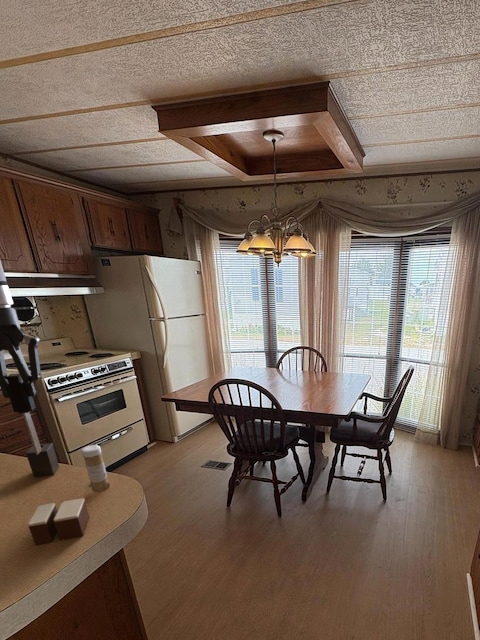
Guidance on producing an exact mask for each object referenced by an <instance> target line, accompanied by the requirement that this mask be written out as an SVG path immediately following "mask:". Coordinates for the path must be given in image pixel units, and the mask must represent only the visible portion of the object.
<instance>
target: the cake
mask: <svg viewBox="0 0 480 640" xmlns="http://www.w3.org/2000/svg"><path fill="white" fill-rule="evenodd" d="M89 520H90V514H89V510H88V507H87V503H86V499H85V497H82V498H77V499H70V500H64V501H61V504H60V506H59V508H58V509H57V514H56V516H55V518H54V522H55V525H56V528H57V532H56V533H57V535H58V537H59V540H60V541H65V540H70V539H76V538H81V537H84V535H85V532H86V529H87V526H88V523H89Z"/></svg>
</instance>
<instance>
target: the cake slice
mask: <svg viewBox="0 0 480 640" xmlns="http://www.w3.org/2000/svg"><path fill="white" fill-rule="evenodd" d="M57 512H58V508H57V506H56V503H55V502H50V503H46V504H39V505H38V506H37V508H36V510H35V512H34V513H33V515H32V517H31V518H30V520H29V521H28V523H27V526H28V528H29V532H30V535H31V537H32V539H33V543H34V545H35V546H39V545H45V544H50V543H53V541H54V539H55V537H56V534H57V533H58V532H57V528H56V525H55V522H54V518H55V516H56V514H57Z"/></svg>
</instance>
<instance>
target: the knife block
mask: <svg viewBox="0 0 480 640" xmlns="http://www.w3.org/2000/svg"><path fill="white" fill-rule="evenodd" d="M40 446H41V449H42V450H41V451H40V453H39V454H38V455H36V452H35V449H34V446H33V445H31V447H30V448H29V449H28V450H27V451H26V453H25V454H26V455H25V456H26V457H27V460H28V463H29V467H30V470H31V473H32V475H33V478H34V479H36V478H43V477H44V478H45V477H51V476H55V475H56V473H57V471H58V469H59V468H60V464H59V461H58V457H57V455H56V450H55V447H54V443H52V442H51V443H42V444H41V443H40Z"/></svg>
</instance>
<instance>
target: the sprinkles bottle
mask: <svg viewBox="0 0 480 640" xmlns="http://www.w3.org/2000/svg"><path fill="white" fill-rule="evenodd" d="M81 454H82V457H83V458H84V463H85V467H86V471H87V476H88V479H89V481H90V485H91V490H92V491H93V492H103V491H106V490H108V489H109V487H110V483H109V480H108V474H107V470H106V466H105V462H104V459H103V455H102V449H101V446H100V445H97V444H92V445H87V446H84V447H82V448H81Z"/></svg>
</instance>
